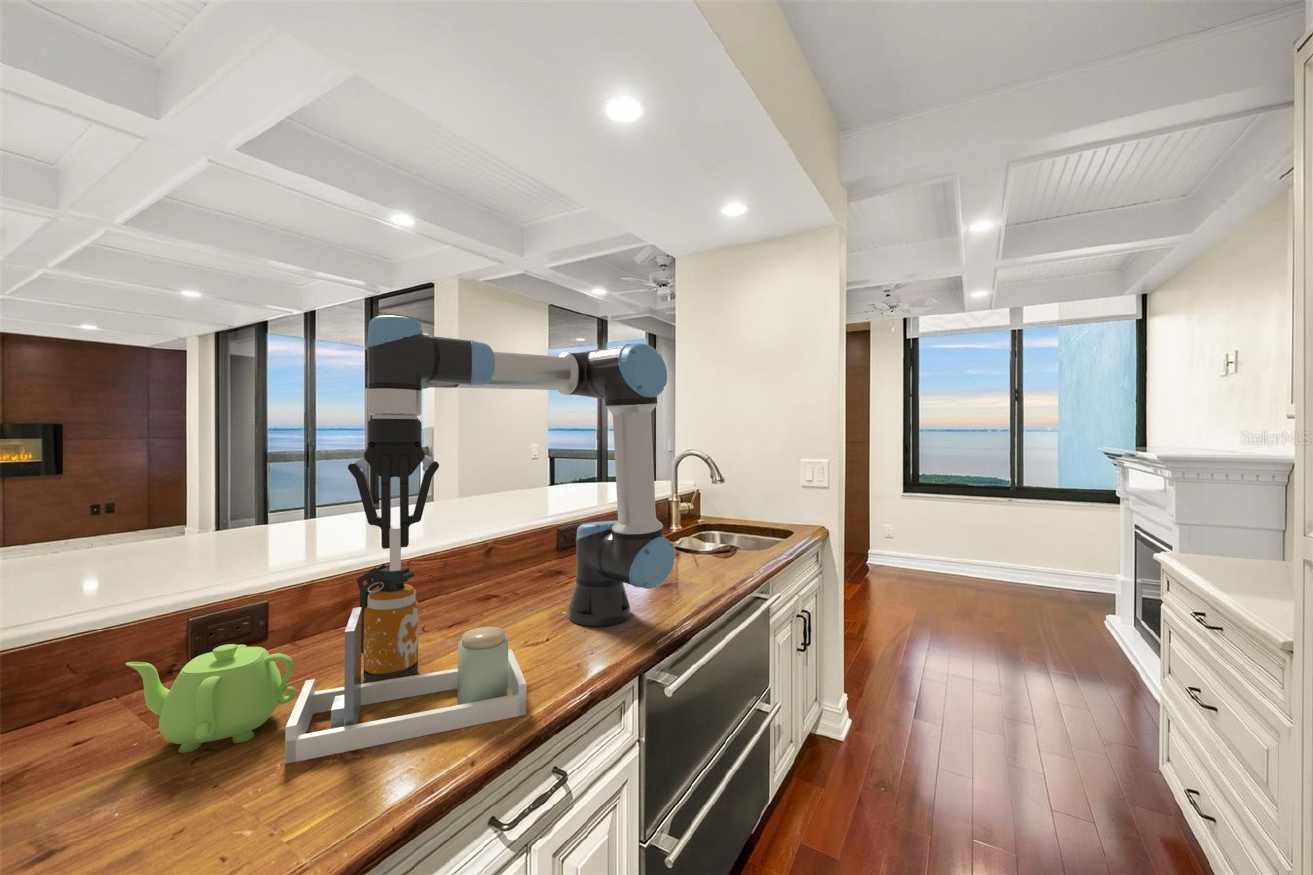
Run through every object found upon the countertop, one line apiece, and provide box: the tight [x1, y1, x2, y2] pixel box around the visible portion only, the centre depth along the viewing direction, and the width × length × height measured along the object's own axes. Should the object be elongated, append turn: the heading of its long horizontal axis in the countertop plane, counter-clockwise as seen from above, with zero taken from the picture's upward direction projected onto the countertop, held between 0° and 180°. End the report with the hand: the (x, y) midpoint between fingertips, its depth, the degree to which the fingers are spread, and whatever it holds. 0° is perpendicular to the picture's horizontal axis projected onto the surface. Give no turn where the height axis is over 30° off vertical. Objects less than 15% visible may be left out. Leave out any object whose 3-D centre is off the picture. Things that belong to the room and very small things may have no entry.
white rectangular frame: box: [284, 648, 527, 765], centre depth 84 cm, size 32×14×5 cm, turn 114°
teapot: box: [125, 643, 297, 754], centre depth 78 cm, size 16×14×13 cm
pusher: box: [330, 607, 362, 729], centre depth 80 cm, size 3×11×16 cm, turn 25°
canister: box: [356, 564, 420, 683], centre depth 97 cm, size 9×11×20 cm
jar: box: [456, 626, 509, 705], centre depth 88 cm, size 8×8×11 cm
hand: (395, 568), depth 83 cm, fingers closed
